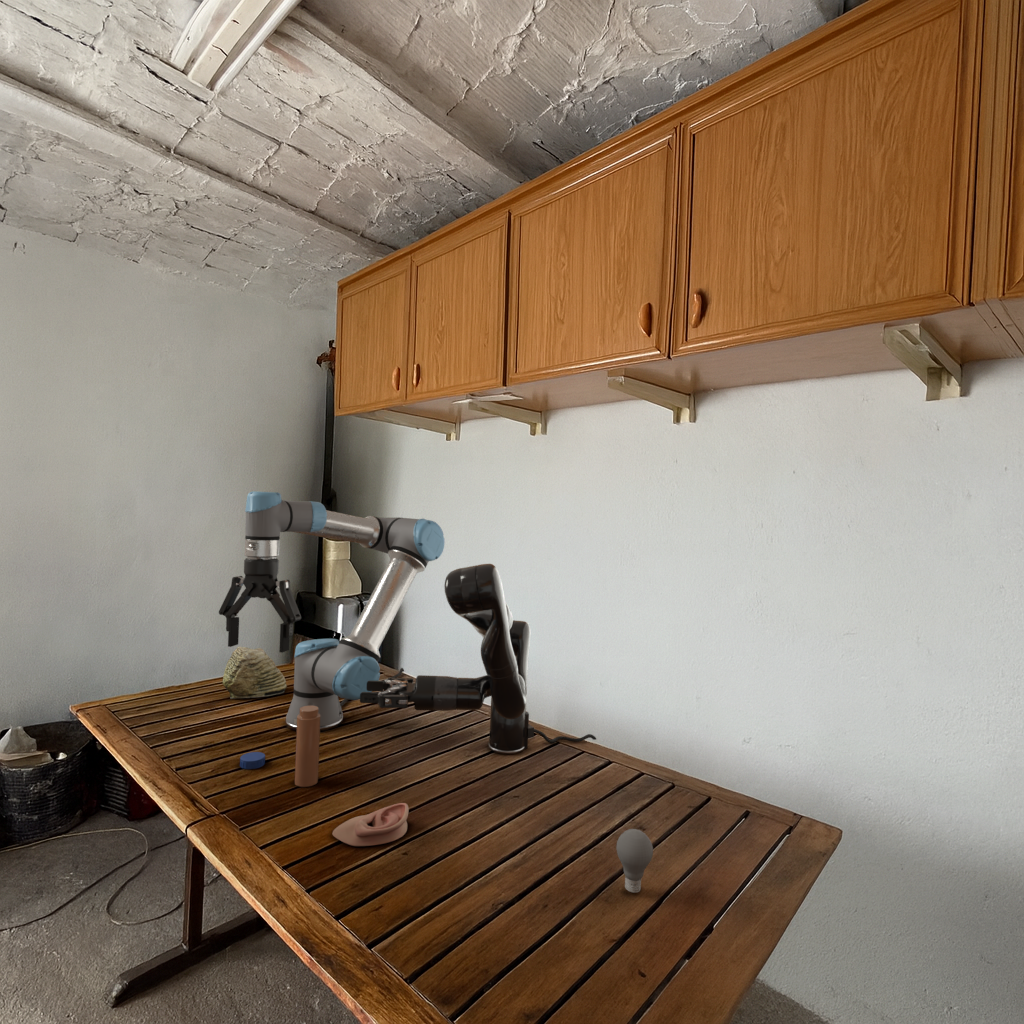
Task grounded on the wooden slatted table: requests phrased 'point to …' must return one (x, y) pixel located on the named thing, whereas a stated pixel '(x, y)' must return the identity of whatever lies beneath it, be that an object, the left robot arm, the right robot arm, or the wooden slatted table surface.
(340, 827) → the anatomical model
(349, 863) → the wooden slatted table surface
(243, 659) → the fossil
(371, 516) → the left robot arm
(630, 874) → the light bulb
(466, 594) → the right robot arm
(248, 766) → the lid
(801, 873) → the wooden slatted table surface
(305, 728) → the brown tall cylinder
